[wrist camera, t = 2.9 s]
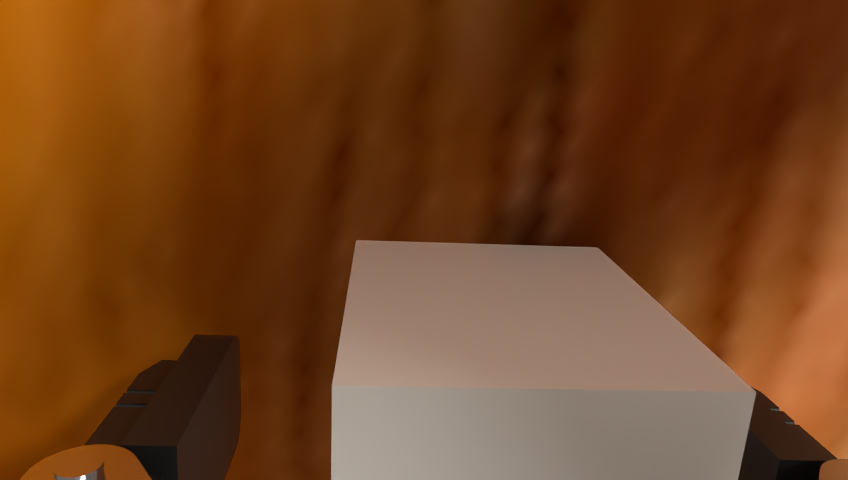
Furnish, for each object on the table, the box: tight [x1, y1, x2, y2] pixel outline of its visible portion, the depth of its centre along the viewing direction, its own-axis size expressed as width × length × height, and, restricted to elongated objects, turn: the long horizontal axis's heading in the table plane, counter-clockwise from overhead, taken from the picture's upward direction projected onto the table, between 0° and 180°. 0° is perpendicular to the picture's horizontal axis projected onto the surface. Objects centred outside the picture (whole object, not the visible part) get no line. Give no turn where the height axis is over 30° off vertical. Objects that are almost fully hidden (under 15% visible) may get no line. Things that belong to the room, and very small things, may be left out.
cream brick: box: [331, 240, 756, 480], centre depth 11 cm, size 5×5×6 cm
